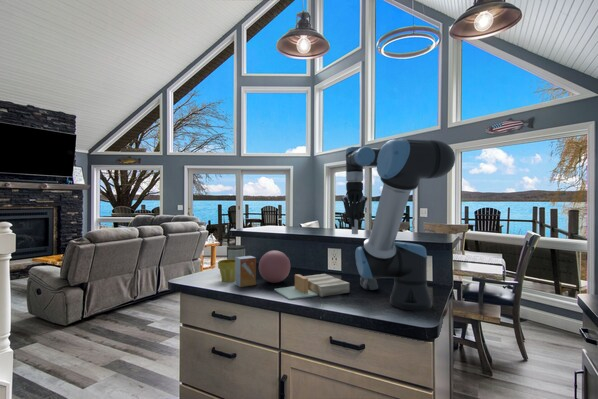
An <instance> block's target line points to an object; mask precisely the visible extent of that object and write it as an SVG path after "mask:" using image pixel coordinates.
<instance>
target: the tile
mask: <svg viewBox="0 0 598 399" xmlns="http://www.w3.org/2000/svg"><path fill="white" fill-rule="evenodd" d="M304 276H305V275H304ZM304 276H303V275H302V274H300V273H299V274H296V273H295V274H294V286H295V289H297V290H299V291H301V292H302V293H308V278H306V277H304Z"/></svg>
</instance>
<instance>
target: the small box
mask: <svg viewBox="0 0 598 399" xmlns="http://www.w3.org/2000/svg"><path fill="white" fill-rule="evenodd" d="M234 283H235V285H236V286H237V287H239V288H243V287H249V286H250V287H251V286H256V285H257V258H256V257H255V256H252V255H245V256H243V257H235V281H234Z"/></svg>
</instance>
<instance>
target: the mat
mask: <svg viewBox="0 0 598 399" xmlns="http://www.w3.org/2000/svg"><path fill="white" fill-rule="evenodd" d="M273 289H274V290H273V291H274V292H277V293H278V294H279V295H281V296H282V297H283V298H284V297H285V299H287V300H288V301H293V300H297V299H304V298H312V297H318V296H319V295H318V294H317V293H315V292H313V291H311V290H309V289H308V293H302V292H301V291H299V290H297V289H295V285H292V286H287V287H286V286H284V287H279V288H273Z"/></svg>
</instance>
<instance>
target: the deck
mask: <svg viewBox="0 0 598 399" xmlns="http://www.w3.org/2000/svg"><path fill="white" fill-rule="evenodd" d="M304 277H306V278H308V289H309V290H311V291H313V292H315V293H317V294H318V296H319V297H322V298H323V297H327V296H336V295H341V294H342V295H343V294H347V293H350V282H348V281H345V280H342V279H340V278H337V277H334V276H332V275H329V274H327V273H321V274H313V275H304Z"/></svg>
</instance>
